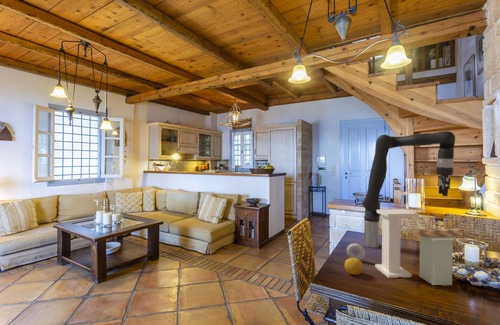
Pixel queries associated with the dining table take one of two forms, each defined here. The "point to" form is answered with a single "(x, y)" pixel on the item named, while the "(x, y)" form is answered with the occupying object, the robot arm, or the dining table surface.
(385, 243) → the tall stand
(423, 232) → the wooden bar
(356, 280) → the dining table surface
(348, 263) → the fruit
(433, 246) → the green post
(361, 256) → the donut
